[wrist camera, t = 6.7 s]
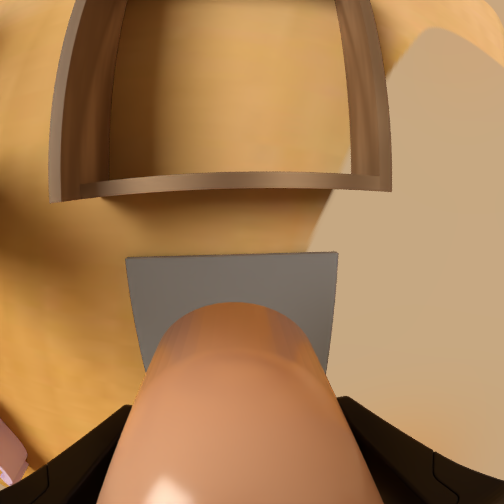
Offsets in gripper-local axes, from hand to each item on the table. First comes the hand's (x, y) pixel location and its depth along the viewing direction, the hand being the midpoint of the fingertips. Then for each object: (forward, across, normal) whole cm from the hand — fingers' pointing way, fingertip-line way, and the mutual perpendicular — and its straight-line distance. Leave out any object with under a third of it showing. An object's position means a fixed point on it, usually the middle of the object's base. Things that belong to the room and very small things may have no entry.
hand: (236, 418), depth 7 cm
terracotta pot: (+2, 0, 0) cm, 2 cm away
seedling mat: (+12, 0, +5) cm, 13 cm away
